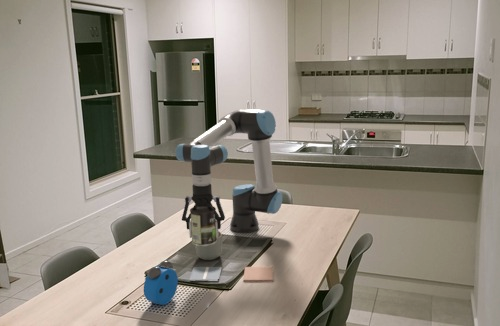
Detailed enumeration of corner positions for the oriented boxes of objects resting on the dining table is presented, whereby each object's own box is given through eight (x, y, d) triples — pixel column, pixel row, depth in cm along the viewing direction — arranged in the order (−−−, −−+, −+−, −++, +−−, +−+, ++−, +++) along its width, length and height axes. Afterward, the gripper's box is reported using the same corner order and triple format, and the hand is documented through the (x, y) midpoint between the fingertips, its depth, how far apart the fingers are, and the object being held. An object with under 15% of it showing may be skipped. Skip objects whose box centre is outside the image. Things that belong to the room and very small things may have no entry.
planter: (226, 253, 215) (226, 231, 213) (216, 264, 203) (215, 241, 201) (202, 250, 219) (201, 228, 217) (190, 261, 207) (189, 238, 205)
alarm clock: (166, 292, 180) (164, 256, 176) (179, 295, 177) (177, 259, 174) (144, 308, 168) (141, 269, 165) (157, 312, 165) (155, 273, 162)
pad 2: (245, 268, 199) (245, 266, 198) (273, 268, 198) (273, 266, 198) (243, 281, 187) (243, 279, 187) (273, 281, 186) (273, 279, 186)
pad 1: (194, 268, 200) (193, 266, 199) (221, 268, 199) (221, 266, 199) (189, 281, 188) (189, 279, 188) (218, 281, 187) (218, 279, 187)
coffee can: (219, 237, 194) (218, 205, 191) (212, 247, 184) (211, 213, 181) (196, 236, 196) (194, 204, 193) (188, 245, 186) (186, 212, 183)
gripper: (171, 186, 182) (175, 240, 187) (229, 186, 181) (231, 239, 186) (175, 181, 189) (178, 233, 194) (230, 181, 188) (232, 233, 193)
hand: (204, 236), depth 190 cm, fingers closed on coffee can, 10 cm apart
